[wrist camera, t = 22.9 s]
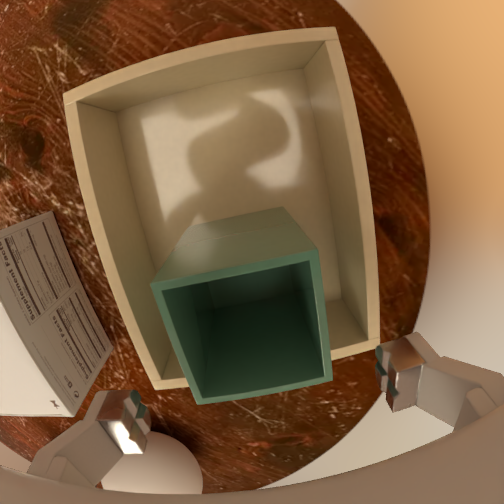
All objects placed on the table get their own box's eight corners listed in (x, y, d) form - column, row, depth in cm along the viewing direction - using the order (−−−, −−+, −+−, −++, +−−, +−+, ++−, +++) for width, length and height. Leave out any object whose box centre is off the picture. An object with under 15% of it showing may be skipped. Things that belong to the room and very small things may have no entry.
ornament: (222, 456, 30) (219, 546, 19) (153, 471, 31) (138, 547, 20) (167, 402, 27) (143, 506, 16) (97, 423, 28) (64, 505, 17)
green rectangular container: (204, 256, 25) (150, 156, 15) (285, 239, 25) (277, 127, 15) (225, 404, 20) (159, 404, 10) (319, 386, 20) (350, 371, 10)
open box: (108, 107, 19) (62, 93, 13) (308, 60, 19) (335, 26, 12) (172, 336, 25) (154, 390, 18) (348, 300, 24) (380, 347, 18)
